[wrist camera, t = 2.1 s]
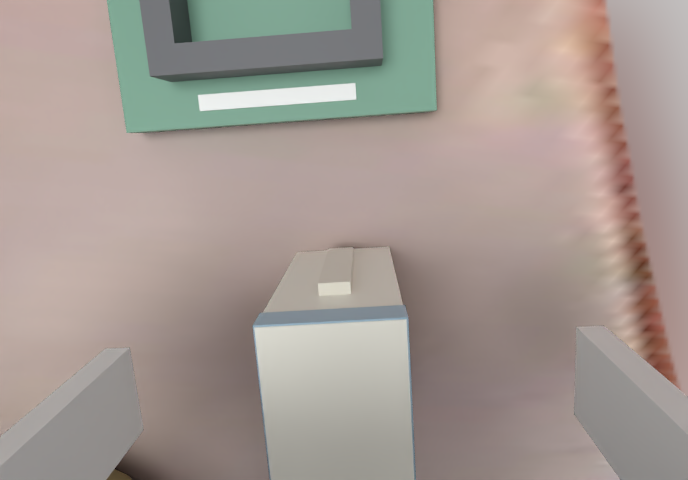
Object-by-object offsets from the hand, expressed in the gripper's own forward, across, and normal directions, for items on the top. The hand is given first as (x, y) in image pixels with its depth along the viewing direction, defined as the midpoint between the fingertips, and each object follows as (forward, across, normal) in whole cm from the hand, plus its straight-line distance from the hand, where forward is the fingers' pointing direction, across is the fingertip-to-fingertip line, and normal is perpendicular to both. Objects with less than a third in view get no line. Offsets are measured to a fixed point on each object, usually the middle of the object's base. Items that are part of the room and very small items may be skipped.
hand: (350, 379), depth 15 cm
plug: (+8, 0, 0) cm, 8 cm away
